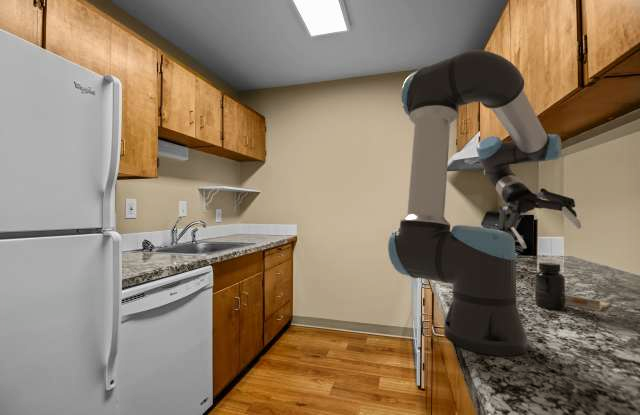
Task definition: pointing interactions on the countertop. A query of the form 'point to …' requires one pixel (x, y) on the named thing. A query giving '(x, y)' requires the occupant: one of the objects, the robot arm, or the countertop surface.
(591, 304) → the flat beige box
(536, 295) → the supplement bottle
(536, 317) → the countertop surface
